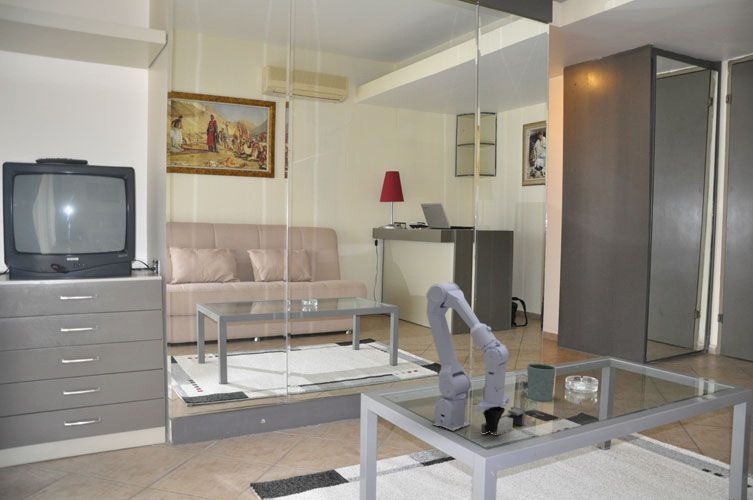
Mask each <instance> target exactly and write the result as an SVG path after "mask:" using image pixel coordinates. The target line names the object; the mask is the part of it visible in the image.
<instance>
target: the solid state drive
mask: <svg viewBox="0 0 753 500" xmlns="http://www.w3.org/2000/svg"><path fill="white" fill-rule="evenodd" d="M525 416H529V417H532V418H535V419H538V420H540V421H543V422H550V421H553V420H557V419H559V416H555V415H553V414H551V413H547V412H545V411H544V412H543V411H540V410H538V409H529V410H525Z"/></svg>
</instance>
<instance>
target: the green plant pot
mask: <svg viewBox="0 0 753 500" xmlns="http://www.w3.org/2000/svg"><path fill="white" fill-rule="evenodd" d="M526 369H527V389H528V390H527V397H528V399H529V400H532V401H535V402H540V403H541V402H542V403H545V402H546V403H548V402H552V400H553V392H554V385H555V378H556V377H555V376H556V369H557V368H556V366H554V365H551V364H546V363H536V362H535V363H528V364H527V368H526Z"/></svg>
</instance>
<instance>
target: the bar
mask: <svg viewBox="0 0 753 500" xmlns="http://www.w3.org/2000/svg"><path fill="white" fill-rule="evenodd" d="M513 424H514V423H513V418H510V417H504V418H501V419H500V420H499V423H498V426H497V429H496V432H494V433H493V432H490V433H493V434H496V435H498V434H501V433H503V432H506V431H508V432H510V431H513V427H514V426H513ZM509 430H510V431H509ZM490 433H489V434H490ZM506 433H507V432H506ZM503 434H504V433H503ZM501 435H502V434H501Z"/></svg>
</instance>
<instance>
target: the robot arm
mask: <svg viewBox="0 0 753 500" xmlns="http://www.w3.org/2000/svg"><path fill="white" fill-rule="evenodd" d="M425 295H426V299H427V304H426V316H427V319H428V324H429V328H430V330H431V335H432V339H433V341H434V345H435V349H436V352H437V356H438V359H439V360H438V361H439V363H440V371H439V373H438V374H437V375H438V376H437V377H438V379H439V382H438V389H439V392H440V394H441V398H440V399H439V400H438V401H437V402H436V404H435V408H434V410H435V412H434V422H435V423H438V424H440V425H442V426H445V427H447V428H454V427H463V428H465V427H464V426H466V427H468V425H469V426H471V424H470V423H469V422H466V421H465V417H466V414H465V413H466V405H467V404H466V402H467V392H469V390H470V389H471V387H472V382H471V378H470V377H469V375H467V373H466V370H465V367H463V366H462V365H461V364H460V363H459V361H458V356H457V353H456V350H455V346H454V343H453V339H452V335H451V331H450V328H449V324H448V321H447V317H446V315H447V314H446V313H447V312H448V310H449V309H453V310H455V311H456V313H458V315H459V316H460V318H461V319H462V321H464V322H465V324H466V325H467V326H468V328H469V329H470V337H471V338H472V340H473V341H474V343H475V344H476V346H477V347H478V348H479V350H481V352H482V354H483V355H482V360H483V362H484V364H485V378H484V386H485V390H484V389H483V395H484V399H483V398H482V400H481V401H480V402H479V403H478V404H477V405H476V411H477V412H479V413H482V414H483V416H484V419H485V423H486V425H487V430H488V431H490V432H493V433H494V432H496V429H497V426H498V423H499V420H500V418H501V417H502V416H503V414H504V413H505V412H506V411H505V410H506V408H505V407H507V405H508V404H509V403H510V402H509V401H510V397H509V396H505V383H506V369H507V368H506V367H507V362H509V360H510V357H511V354H510V350H509V348H508V346H506V345H505V344H502V343H501V341H500V340H498V339H497V338H496V337H495V335H494V333H493V332H492V328H491V326H487V324H486V323H481V322H480V320H479V318H478V317H477V315H476V314H475V313H474V311H473V309H472V308H471V306H470V303H468V301H467V300H466V298H465V295H464V291H462V290H461V289H460V287H459V286H458V285H457V283H455V282H446V283H433V284H432V285H430V287H429V289H428V290H427V292H426V294H425Z"/></svg>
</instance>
